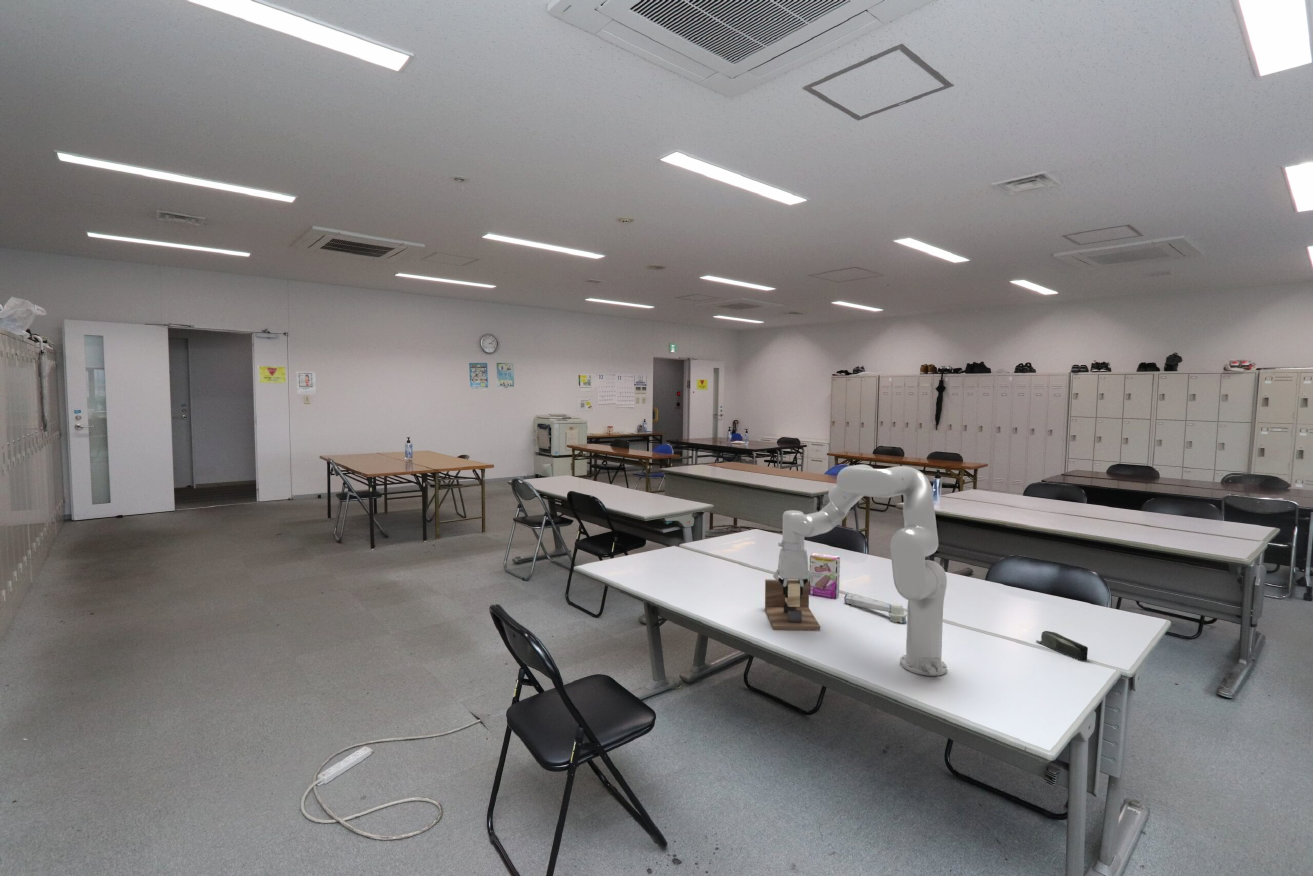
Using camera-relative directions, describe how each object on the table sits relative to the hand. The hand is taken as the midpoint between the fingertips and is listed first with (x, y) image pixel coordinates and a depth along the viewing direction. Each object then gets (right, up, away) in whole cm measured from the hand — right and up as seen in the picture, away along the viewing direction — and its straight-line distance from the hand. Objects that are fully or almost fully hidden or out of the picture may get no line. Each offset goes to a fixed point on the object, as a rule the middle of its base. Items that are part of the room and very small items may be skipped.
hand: (792, 596), depth 207 cm
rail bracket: (0, -3, 0) cm, 3 cm away
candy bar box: (+19, -7, +28) cm, 35 cm away
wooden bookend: (0, -9, +2) cm, 9 cm away
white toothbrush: (+32, -9, +9) cm, 35 cm away
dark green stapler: (+78, -11, -24) cm, 83 cm away
